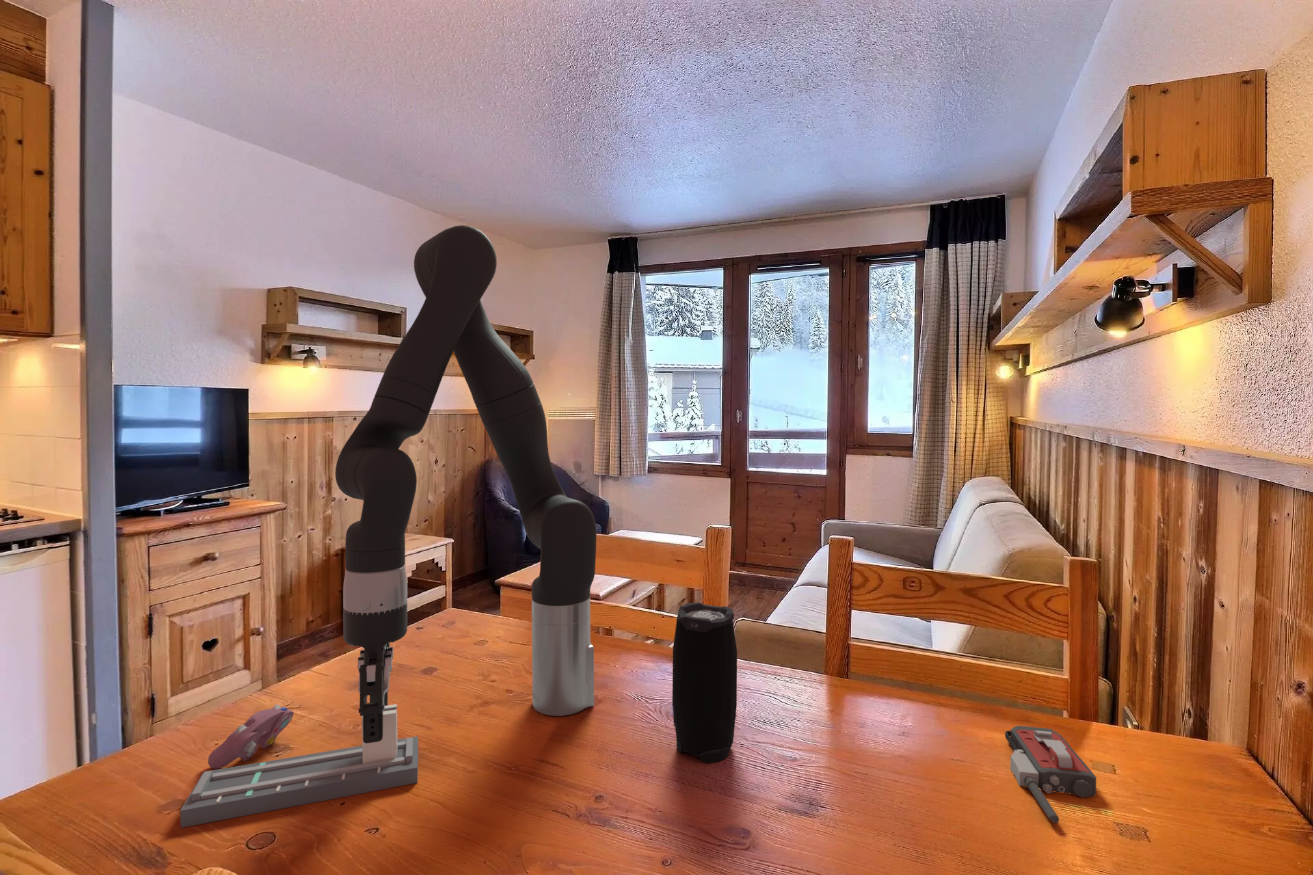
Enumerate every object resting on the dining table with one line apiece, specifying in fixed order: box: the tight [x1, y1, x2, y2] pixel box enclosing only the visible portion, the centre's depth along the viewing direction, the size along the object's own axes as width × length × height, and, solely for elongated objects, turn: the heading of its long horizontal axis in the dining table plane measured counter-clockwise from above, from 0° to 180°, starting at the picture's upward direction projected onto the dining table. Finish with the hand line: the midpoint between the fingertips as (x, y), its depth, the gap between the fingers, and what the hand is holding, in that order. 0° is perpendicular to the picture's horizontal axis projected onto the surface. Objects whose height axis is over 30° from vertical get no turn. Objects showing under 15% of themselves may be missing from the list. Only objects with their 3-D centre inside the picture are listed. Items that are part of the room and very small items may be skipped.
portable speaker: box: [671, 602, 738, 764], centre depth 87 cm, size 9×9×20 cm
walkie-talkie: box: [1004, 725, 1097, 824], centre depth 80 cm, size 9×4×20 cm
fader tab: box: [361, 703, 398, 764], centre depth 82 cm, size 4×2×6 cm, turn 110°
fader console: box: [179, 735, 419, 828], centre depth 79 cm, size 25×8×3 cm, turn 110°
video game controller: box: [207, 703, 295, 770], centre depth 86 cm, size 10×5×7 cm, turn 169°
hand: (376, 724), depth 82 cm, fingers open, 8 cm apart
